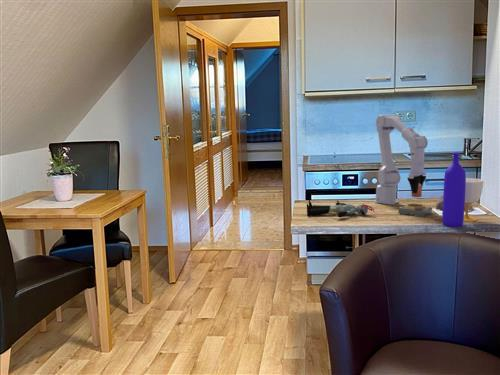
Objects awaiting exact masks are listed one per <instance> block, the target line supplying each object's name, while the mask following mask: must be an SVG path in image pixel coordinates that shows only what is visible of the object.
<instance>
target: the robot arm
mask: <svg viewBox="0 0 500 375" xmlns="http://www.w3.org/2000/svg"><path fill="white" fill-rule="evenodd" d="M375 127H376V132H377V135H378V136H377V137H378V141H379V142H378V143H379V149H380V150H379V152H380V157H381V164H382V167H380V169H378V171H377V172H378V176H377V181H378V183H379V184H377V186H376V189H375V201H374V202H375V203H376V204H385V205H391V206H393V205H395V204H398V203H399V202H400V201H399V200H397V186H399V183H400V182H401V174H400V172H399V168H397V167H396V166H395V165H394V159H393V151H392V145H391V138H390V137H391V136H390V134H391V133H392V132H393V131H394V130H395V129H396V130H397V131H398V132H400V134H401V137H402V139H404V141H406V142H407V143H408V147H409V152H410V172H409V174H408V177H407V181H408V182H409V183H408V184H409V186H410V190H411V194H412V193H417V190H418V185H419V183H420V185H422V187H423V185H424V182H425V180H426V179H427V172H426V170H425V149H426V148H427V146H428V139H427V137H426V136H424V135H420V134H419V133H418V132H416V131H415V130H414V128H413V127H407V126H406V125H405V124H404V123H403V121H402V120H401V117H400V116H399V115H398V114H396V113H393V114H392V113H391V114H379V115H378V116H377V118H376V120H375Z"/></svg>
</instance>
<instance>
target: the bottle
mask: <svg viewBox="0 0 500 375" xmlns="http://www.w3.org/2000/svg"><path fill="white" fill-rule="evenodd" d="M451 154H452V155H453V159H452V163H451V164H450V165H449V166H448V167H447V168H446V170H445V171H444V175H443V176H444V179H443V191H442V192H443V195H442V196H443V210H442V226H445V227H448V228H460V227H463V225H464V222H465V221H464V216H465V211H464V207H465V187H466V178H467V177H466V175H467V174H466V171H465V169H464V167H463V166H462V165H461V164H460V162H459V156H460V154H461V152H459V151H458V152H455V151H453V152H452V153H451Z"/></svg>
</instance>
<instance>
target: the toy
mask: <svg viewBox="0 0 500 375" xmlns="http://www.w3.org/2000/svg"><path fill="white" fill-rule="evenodd" d="M368 210H369V211H371V212H372V211H373V212H375V208H373V207H372V206H370V205H367V204H365V203H363V204H358V205H356V206H355V205H353V204H350V203H348V204H347V203H345V202H344V203H343V202H340V201H339V200H336V202H335V205H332V206H331V205H319V204H318V205H316V204H312V202H311V200H310V199H308V203H306V216H307V217H308V216H310V217H312V216H314V217H315V216H323V215H326V214H328V213H336V215H335V217H336V218H344V217H346V216H347V215H350V216H351V215H353V214H355V213H357V214H358V215H360V216H366V215H367V213H368Z"/></svg>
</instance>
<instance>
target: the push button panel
mask: <svg viewBox="0 0 500 375" xmlns="http://www.w3.org/2000/svg"><path fill="white" fill-rule="evenodd" d="M399 213H401V214H400V215H406V214H409V215H408V216H413V215H416V216H415V217H421V216H422V218H423V217H424V218H425V217H427V216H429V215H431V214H432V213H433V207H431V206H428V207H426V205H425V204H422V203H406V204H405V205H403V206H400V207H398V214H399Z"/></svg>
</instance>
